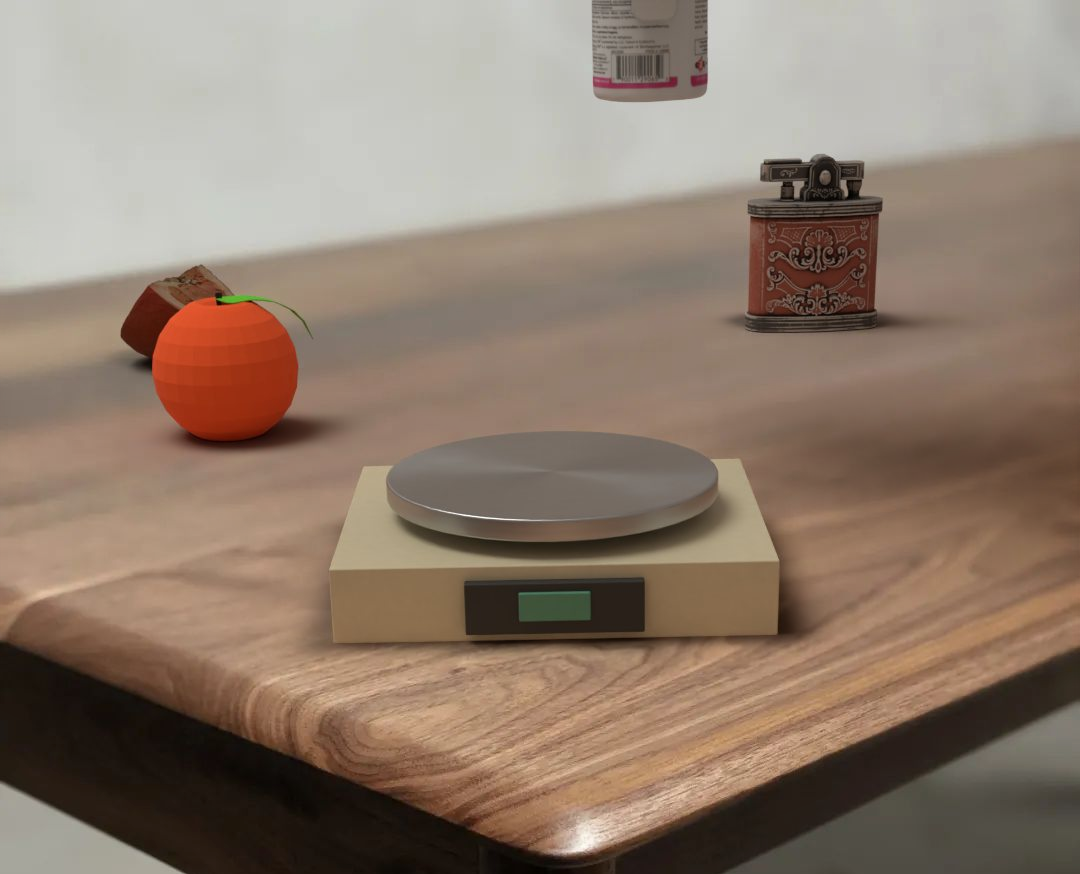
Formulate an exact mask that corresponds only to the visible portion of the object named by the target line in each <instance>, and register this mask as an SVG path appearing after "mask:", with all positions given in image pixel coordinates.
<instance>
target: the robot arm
mask: <svg viewBox="0 0 1080 874" xmlns="http://www.w3.org/2000/svg"><path fill="white" fill-rule="evenodd" d="M677 10H678V0H631V11H632V14H633V16H634V17H635V18H636V19H638V20H639V21H668V20H671V19H672V18H673V17H674V16H675V15H676V13H677Z"/></svg>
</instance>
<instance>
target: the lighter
mask: <svg viewBox="0 0 1080 874" xmlns="http://www.w3.org/2000/svg"><path fill="white" fill-rule="evenodd" d="M759 165H760V166H759V167H760V168H759V169H760V170H759V171H760V172H759V174H760V175H759V182H761V183H782V185H780V197H765V198H753V199H749V200H747V215H748V216H749V254H748V255H749V258H748V259H749V260H748V262H749V263H748V298H747V299H748V300H747V301H748V303H747V305H748V306H747V310H746V311H745V312H744V329H746V330H747V331H752V332H762V333H797V332H798V333H801V332H802V333H803V332H804V333H805V332H830V331H831V332H832V331H847V330H850V331H851V330H863V329H871V328H875V327H876V326H877V321H878V310H877V309H876V308H875V304H876V303H875V301H876V285H877V267H878V266H877V263H878V242H879V225H880V223H879V222H880V213H881V214H882V213H883V205H884V204H883V202H884V198H883V197H881V196H876V195H860V191H861V189H862V186H863V180H864V179H865V161H864V160H857V159H856V160H855V159H854V160H851V159H850V160H836V159H835V158H834V157H832V156H830V155H828V154H826V153H816V154H814V155H812V157H810V160H809V161H803V159H801V157H800V158H799V157H792V158H790V157H789V158H765V159H763V162H761V163H760V164H759ZM841 181H846V182H845V186H846V189H847V195H846V194H845V190H844V188H842V185H841V184H842V182H841ZM794 182H803V186H801V187H800V188H799V195H798V196H795V185H794Z"/></svg>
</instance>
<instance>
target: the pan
mask: <svg viewBox="0 0 1080 874" xmlns="http://www.w3.org/2000/svg"><path fill="white" fill-rule="evenodd" d="M710 459H711V458H709V457H708V456H706V455H704V454H703V453H700V452H698V451H696V450H694V449H693V448H689V447H687V446H684V445H680V444H678V443H674V442H670V441H666V440H662V439H656V438H653V437H652V438H651V437H646V436H641V435H640V436H639V435H633V434H625V433H624V434H623V433H616V432H615V433H614V432H601V431H587V430H586V431H581V430H580V431H579V430H546V431H542V430H541V431H525V432H510V433H502V434H491V435H485V436H478V437H477V436H476V437H471V438H467V439H460V440H455V441H452V442H447V443H442V444H439V445H436V446H432V447H429V448H426V449H423V450H420V451H418V452H415V453H413V454H411V455H408V456H407V457H405V458H403V459H402V460H400V461H399V462H397V463H394V465H392V466H393V467H392V468H391V469H390V471H389V473H388V475H387V477H386V491H387V501H388V503H389V505H390V508H391V509H392V510H393V511H394V512H395V513H396V514H398V515H399V516H401V517H402V518H404V519H406V520H408V521H410V522H412V523H414V524H417V525H420V526H423V527H425V528H428V529H432V530H436V531H440V532H444V533H448V534H454V535H459V536H464V537H471V538H479V539H487V540H499V541H514V542H570V541H586V540H598V539H607V538H615V537H622V536H628V535H634V534H640V533H644V532H649V531H653V530H658V529H661V528H665V527H668V526H672V525H675V524H678V523H681V522H683V521H686V520H688V519H691V518H693V517H695V516H697V515H699V514H701V513H702V512H704V511H705V510H706V509H708V508H709V507H710V506H711V505H712V504H713V503H714V502H715V500H716V498H717V495H718V470H717V468H716V466H715V464H714V463H713V462H712V461H711V460H710Z"/></svg>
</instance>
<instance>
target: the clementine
mask: <svg viewBox="0 0 1080 874" xmlns="http://www.w3.org/2000/svg"><path fill="white" fill-rule="evenodd" d="M255 301H256V302H255ZM257 301H258V302H262V301H263V302H268V303H275V304H277V305H279V306H281V307H284V308H286V309H287V310H289V311H290V312H292V314H294V315H295V317H297V318H298V319H299V320H300V321H301V322H302V324H303V325H304V327H305V329H306V331H307V333H308V334H309V336H310V337H311V339H312V340H314V338H313V336H312V333H311V330H310V329H309V327H308V325H307V323H306V321H305V320H304V319H303V318H302V317H301V316H300V314H298V313H297V312H296V310H295V309H292V308H290V307H288V306H286V305H285V304H282V303H280V302H277V301H274V300H272V299H269V298H267V297H262V296H257V295H246V294H237V295H235V296H226V297H222V293H220V292H219V293H215V297H211V298H204V299H200V300H197V301H193V302H191V303H189V304H187V305H186V306H184V307H183V308H182V309H181V310H180V311H179V312H177V313H176V314H175V315H174V316H173V317H172V318H170V320H169V321H168V323H167V324H166V326H165V327H164V329H163V330H162V332H161V333H160V335H159V337H158V341H157V344H156V347H155V350H154V353H153V359H152V364H151V365H152V369H151V375H152V379H153V384H154V388H155V389H154V390H155V393H156V395H157V397H158V399H159V400H160V402H161V404H162V406H163V408H164V409H165V411H166V412H167V413H168V415H169V416H170V417H171V418H172V419H173V420H174V421H175V422H176V423H177V424H178V425H179V426H180V428H182V429H184V430H185V431H187V432H189V433H191V434H192V435H194V436H195V437H197V438H200V439H203V440H207V441H214V442H234V441H236V442H237V441H244V440H249V439H253V438H256V437H259V436H261V435H264V434H265V433H267V432H268V431H269V430H270V429H272V428H273V427H274V426H275V425H276V424H278V423H279V422H280V421H281V420H282V418H283V417H284V416H285V414H286V413H287V412H288V410H289V409H290V407H291V406H292V404H293V400H294V397H295V395H296V391H297V389H298V380H299V379H298V378H299V359H298V356H297V351H296V350H297V349H296V346H295V343H294V342H293V340H292V338H291V336H290V334H289V332H288V330H287V328H286V327H285V325H283V324H282V323H281V321H280V320H279V319H278V318H277V317H276V316H275V315H274V314H273V313H271V312H270V311H269V310H267V309H266V308H264V307H263V306H261V305H260V304H258V303H257Z"/></svg>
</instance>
